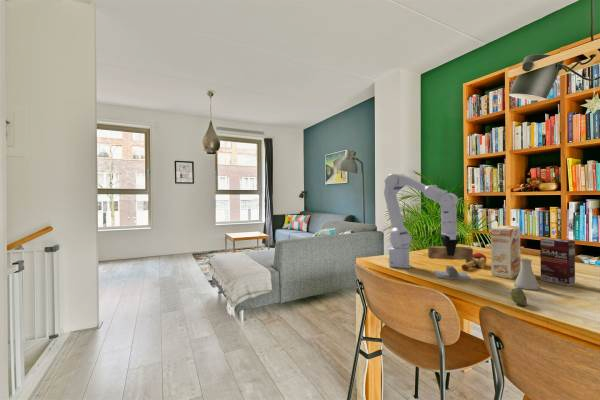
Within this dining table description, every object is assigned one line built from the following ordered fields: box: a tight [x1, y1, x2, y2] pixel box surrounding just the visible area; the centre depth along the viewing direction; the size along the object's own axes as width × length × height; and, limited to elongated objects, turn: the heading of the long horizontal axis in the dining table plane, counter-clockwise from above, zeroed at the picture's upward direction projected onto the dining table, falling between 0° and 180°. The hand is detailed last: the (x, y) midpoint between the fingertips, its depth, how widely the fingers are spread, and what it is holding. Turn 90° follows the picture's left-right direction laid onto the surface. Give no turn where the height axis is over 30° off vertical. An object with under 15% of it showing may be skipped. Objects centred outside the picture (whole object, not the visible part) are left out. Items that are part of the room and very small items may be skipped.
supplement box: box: [539, 237, 576, 287], centre depth 102 cm, size 9×5×16 cm, turn 23°
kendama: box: [461, 252, 487, 272], centre depth 126 cm, size 8×6×18 cm
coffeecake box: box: [490, 225, 521, 280], centre depth 115 cm, size 15×7×20 cm, turn 129°
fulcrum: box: [433, 265, 473, 281], centre depth 113 cm, size 12×9×3 cm
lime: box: [510, 287, 528, 307], centre depth 82 cm, size 4×5×5 cm
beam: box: [427, 245, 474, 261], centre depth 115 cm, size 16×4×4 cm, turn 72°
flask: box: [513, 257, 541, 291], centre depth 98 cm, size 7×7×10 cm
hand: (449, 254), depth 115 cm, fingers closed on beam, 4 cm apart
